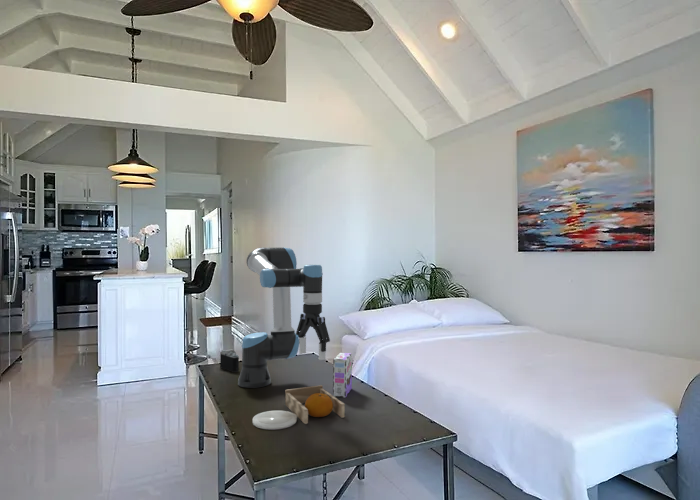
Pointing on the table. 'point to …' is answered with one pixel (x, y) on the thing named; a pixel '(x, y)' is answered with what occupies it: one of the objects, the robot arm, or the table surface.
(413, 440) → the table surface
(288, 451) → the table surface
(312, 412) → the fruit
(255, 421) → the plate
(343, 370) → the candy box
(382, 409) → the table surface
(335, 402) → the oak open frame
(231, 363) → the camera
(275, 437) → the table surface
